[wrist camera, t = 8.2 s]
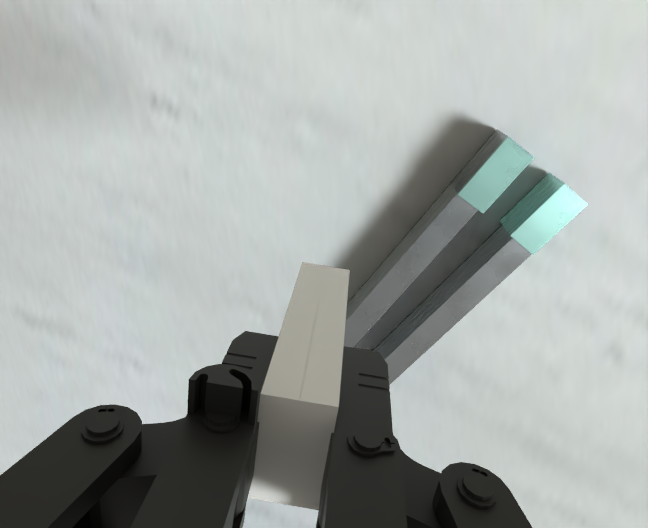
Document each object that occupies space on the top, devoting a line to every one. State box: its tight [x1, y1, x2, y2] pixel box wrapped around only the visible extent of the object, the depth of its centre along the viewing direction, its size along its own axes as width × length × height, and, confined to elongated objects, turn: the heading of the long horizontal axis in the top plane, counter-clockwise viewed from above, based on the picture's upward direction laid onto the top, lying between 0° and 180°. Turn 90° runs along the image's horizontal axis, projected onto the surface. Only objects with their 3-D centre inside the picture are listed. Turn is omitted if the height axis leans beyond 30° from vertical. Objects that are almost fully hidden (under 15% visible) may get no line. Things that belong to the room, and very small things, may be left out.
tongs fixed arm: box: [373, 173, 588, 385], centre depth 32 cm, size 21×4×3 cm, turn 142°
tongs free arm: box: [344, 130, 534, 348], centre depth 31 cm, size 18×2×3 cm, turn 145°
